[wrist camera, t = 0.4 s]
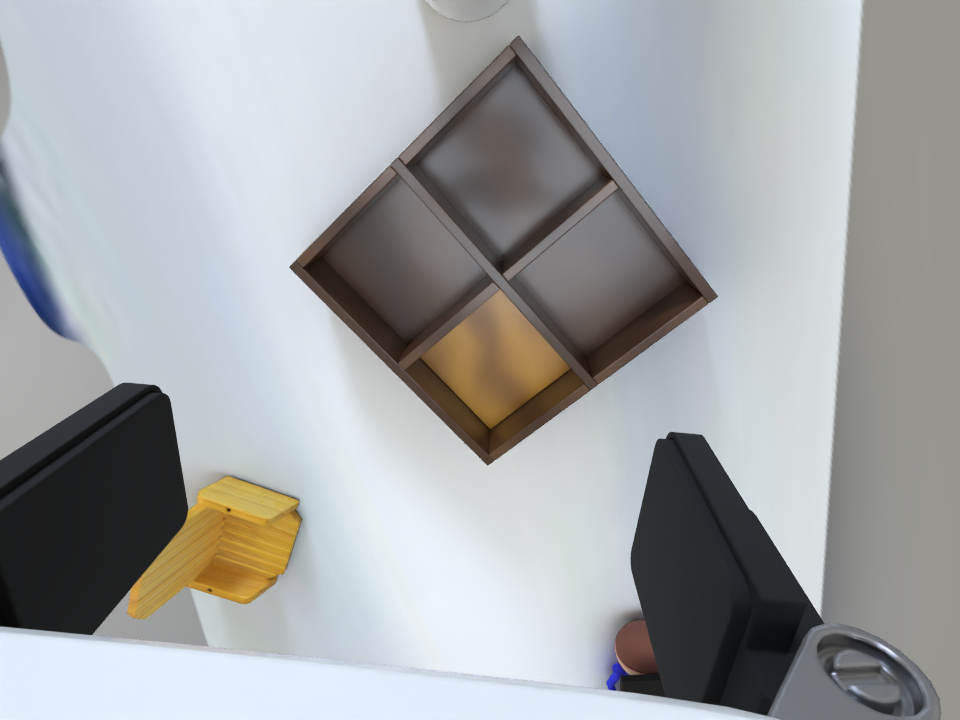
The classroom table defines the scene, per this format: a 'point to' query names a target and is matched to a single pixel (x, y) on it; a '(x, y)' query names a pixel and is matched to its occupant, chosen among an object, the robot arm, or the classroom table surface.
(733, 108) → the classroom table surface
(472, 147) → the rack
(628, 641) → the figurine character
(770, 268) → the classroom table surface
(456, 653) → the classroom table surface
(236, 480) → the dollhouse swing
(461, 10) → the cylindrical container
